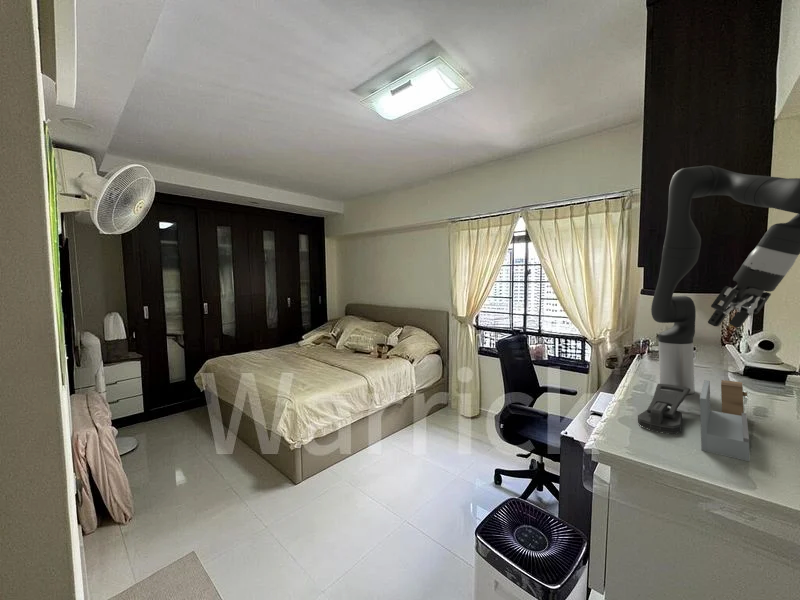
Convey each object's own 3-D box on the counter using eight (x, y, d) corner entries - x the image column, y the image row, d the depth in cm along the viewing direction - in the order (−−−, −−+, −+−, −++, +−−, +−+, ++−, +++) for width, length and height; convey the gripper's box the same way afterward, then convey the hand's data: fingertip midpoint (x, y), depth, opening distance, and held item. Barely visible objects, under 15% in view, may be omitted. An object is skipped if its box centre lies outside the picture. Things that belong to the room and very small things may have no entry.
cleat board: (705, 424, 85) (704, 380, 84) (746, 432, 79) (745, 384, 79) (701, 450, 72) (699, 398, 72) (749, 461, 67) (748, 405, 67)
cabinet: (722, 414, 90) (721, 379, 90) (747, 418, 87) (746, 382, 87) (722, 420, 87) (721, 384, 86) (748, 425, 83) (747, 387, 83)
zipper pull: (693, 387, 95) (677, 411, 79) (694, 409, 95) (678, 437, 79) (655, 382, 102) (633, 402, 86) (656, 402, 102) (634, 426, 86)
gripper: (764, 265, 82) (725, 319, 89) (727, 260, 78) (689, 317, 85) (802, 276, 75) (757, 333, 82) (764, 271, 71) (720, 332, 78)
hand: (723, 325), depth 83 cm, fingers open, 8 cm apart
